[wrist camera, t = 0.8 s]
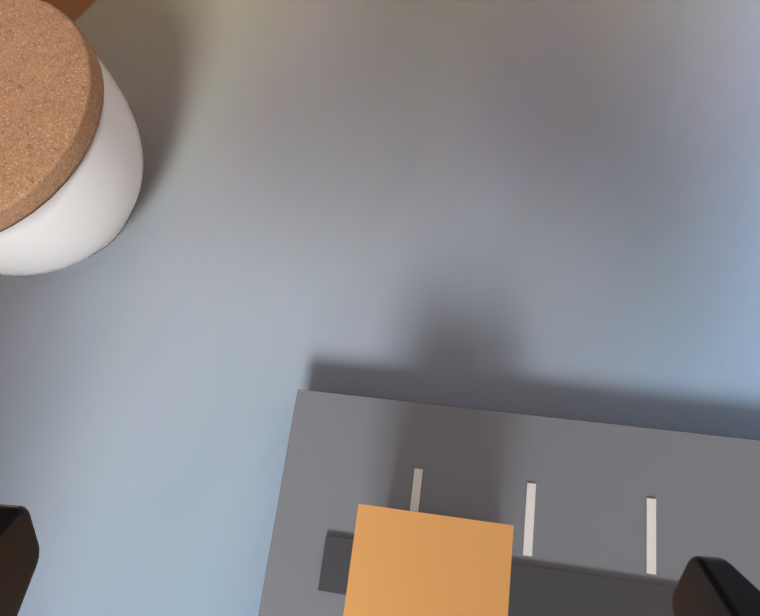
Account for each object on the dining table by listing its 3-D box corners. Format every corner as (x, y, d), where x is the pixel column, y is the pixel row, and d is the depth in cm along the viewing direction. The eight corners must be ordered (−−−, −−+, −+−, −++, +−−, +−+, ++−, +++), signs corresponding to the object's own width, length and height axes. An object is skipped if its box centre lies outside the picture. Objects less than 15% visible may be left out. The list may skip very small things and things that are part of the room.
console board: (1116, 910, 18) (1179, 948, 16) (250, 732, 22) (233, 748, 21) (1039, 478, 22) (1085, 475, 20) (307, 396, 26) (296, 388, 24)
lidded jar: (-41, 157, 32) (-231, 20, 23) (153, 80, 32) (36, -87, 23) (-14, 344, 29) (-228, 265, 20) (206, 257, 29) (89, 139, 20)
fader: (493, 660, 20) (502, 705, 15) (365, 638, 21) (335, 674, 16) (502, 524, 22) (513, 525, 17) (382, 507, 22) (358, 503, 17)
